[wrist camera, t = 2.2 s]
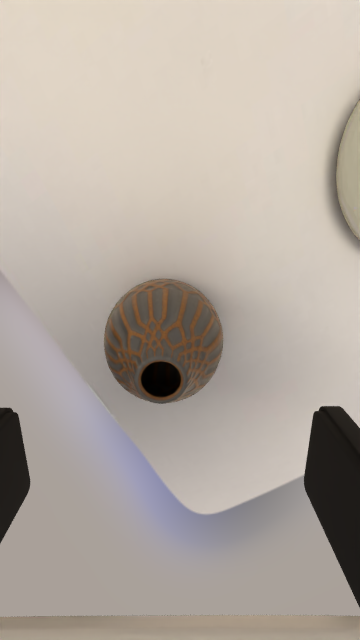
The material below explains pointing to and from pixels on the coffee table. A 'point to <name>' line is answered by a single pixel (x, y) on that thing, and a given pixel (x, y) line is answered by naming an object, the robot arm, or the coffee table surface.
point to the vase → (163, 341)
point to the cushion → (350, 172)
